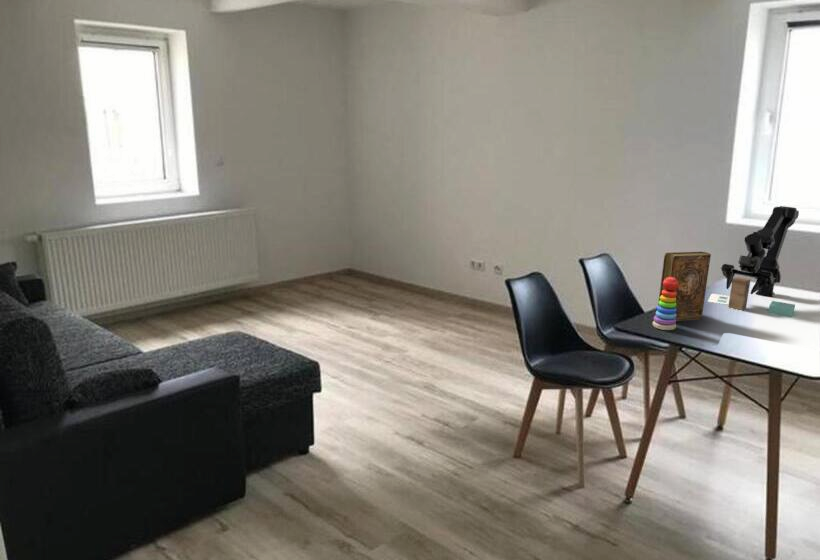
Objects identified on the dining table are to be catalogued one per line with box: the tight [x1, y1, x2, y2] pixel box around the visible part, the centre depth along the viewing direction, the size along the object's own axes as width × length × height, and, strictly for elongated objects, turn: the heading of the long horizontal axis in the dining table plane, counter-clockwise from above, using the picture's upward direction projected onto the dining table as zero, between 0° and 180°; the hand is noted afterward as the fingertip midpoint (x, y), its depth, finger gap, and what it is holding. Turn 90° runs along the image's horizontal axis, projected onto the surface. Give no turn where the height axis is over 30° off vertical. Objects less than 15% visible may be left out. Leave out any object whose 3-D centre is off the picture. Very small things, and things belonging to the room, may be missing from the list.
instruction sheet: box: [707, 293, 730, 306], centre depth 271 cm, size 14×10×1 cm
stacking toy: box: [652, 277, 678, 331], centre depth 233 cm, size 8×8×19 cm
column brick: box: [727, 276, 751, 311], centre depth 259 cm, size 5×5×12 cm
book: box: [656, 251, 712, 322], centre depth 243 cm, size 16×6×25 cm, turn 102°
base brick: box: [768, 300, 796, 318], centre depth 256 cm, size 8×8×3 cm
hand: (738, 291), depth 258 cm, fingers open, 9 cm apart
